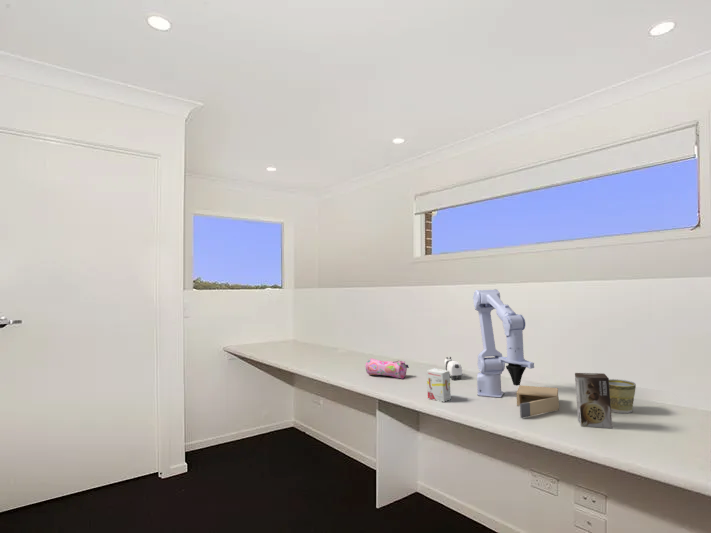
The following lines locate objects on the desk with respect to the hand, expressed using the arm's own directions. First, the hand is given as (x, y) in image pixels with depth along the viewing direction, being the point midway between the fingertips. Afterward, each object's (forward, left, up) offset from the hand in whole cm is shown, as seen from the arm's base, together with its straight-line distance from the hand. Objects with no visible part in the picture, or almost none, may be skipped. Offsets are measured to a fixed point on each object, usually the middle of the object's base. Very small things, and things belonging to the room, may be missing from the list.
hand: (516, 384), depth 154 cm
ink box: (-31, +5, -10) cm, 33 cm away
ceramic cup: (+34, +14, -10) cm, 38 cm away
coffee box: (+24, -6, -10) cm, 27 cm away
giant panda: (-35, +44, -10) cm, 57 cm away
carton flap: (+8, -2, -9) cm, 12 cm away
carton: (+6, +12, -9) cm, 16 cm away
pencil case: (-67, +36, -10) cm, 77 cm away
